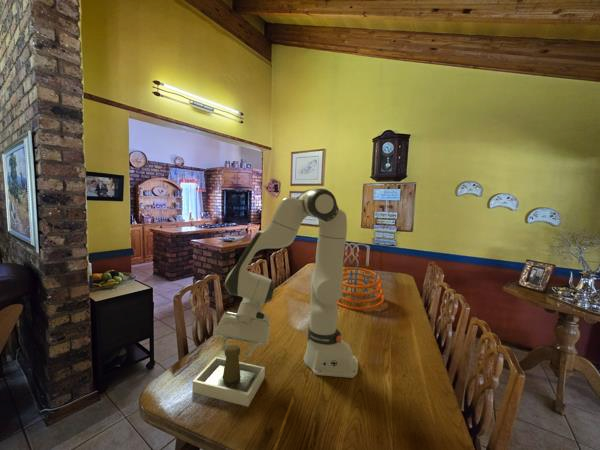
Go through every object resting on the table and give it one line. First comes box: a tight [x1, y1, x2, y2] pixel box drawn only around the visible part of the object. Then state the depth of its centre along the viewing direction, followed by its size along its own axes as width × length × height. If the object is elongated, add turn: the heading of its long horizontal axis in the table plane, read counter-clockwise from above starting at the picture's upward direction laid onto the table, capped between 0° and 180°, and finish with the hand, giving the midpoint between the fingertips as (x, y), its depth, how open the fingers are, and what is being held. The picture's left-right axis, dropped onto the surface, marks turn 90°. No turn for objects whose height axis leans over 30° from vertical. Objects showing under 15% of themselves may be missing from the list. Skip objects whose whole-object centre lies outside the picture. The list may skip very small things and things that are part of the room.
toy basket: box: [337, 263, 385, 311], centre depth 175 cm, size 34×35×24 cm
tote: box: [192, 356, 266, 408], centre depth 90 cm, size 20×14×5 cm
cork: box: [223, 344, 241, 383], centre depth 90 cm, size 6×6×11 cm
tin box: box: [206, 365, 255, 392], centre depth 90 cm, size 14×10×2 cm
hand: (235, 353), depth 92 cm, fingers open, 8 cm apart
